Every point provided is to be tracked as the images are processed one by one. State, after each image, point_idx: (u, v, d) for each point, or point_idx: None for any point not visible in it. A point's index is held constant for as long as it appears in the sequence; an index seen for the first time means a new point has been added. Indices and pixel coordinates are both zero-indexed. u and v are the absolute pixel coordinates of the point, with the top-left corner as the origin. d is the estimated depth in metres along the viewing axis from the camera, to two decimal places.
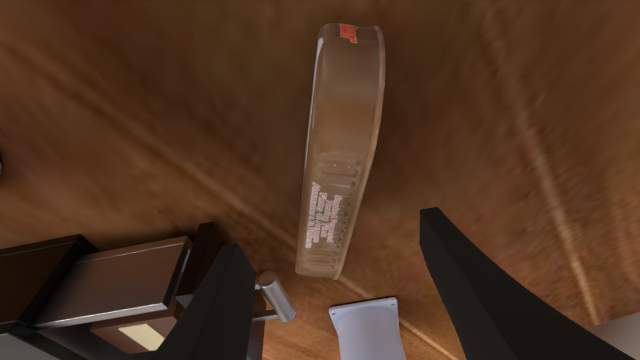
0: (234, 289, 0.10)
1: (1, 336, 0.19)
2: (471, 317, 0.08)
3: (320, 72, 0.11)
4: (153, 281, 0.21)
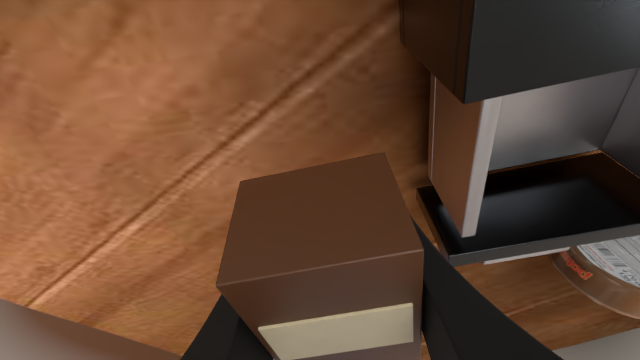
0: None
1: None
2: (432, 323, 0.08)
3: None
4: None
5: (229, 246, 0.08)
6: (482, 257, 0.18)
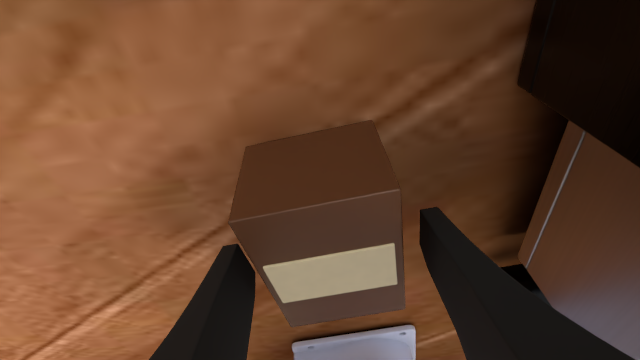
0: (234, 289, 0.10)
1: None
2: (471, 317, 0.08)
3: None
4: None
5: (238, 194, 0.09)
6: None
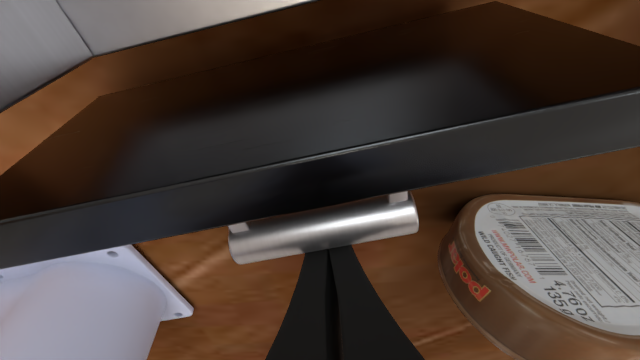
0: (331, 272, 0.10)
1: None
2: None
3: None
4: None
5: None
6: (49, 243, 0.06)
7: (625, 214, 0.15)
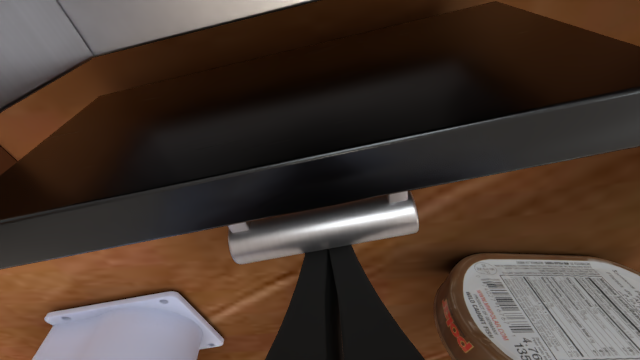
0: (331, 272, 0.10)
1: None
2: None
3: None
4: None
5: None
6: (49, 242, 0.06)
7: (588, 270, 0.19)
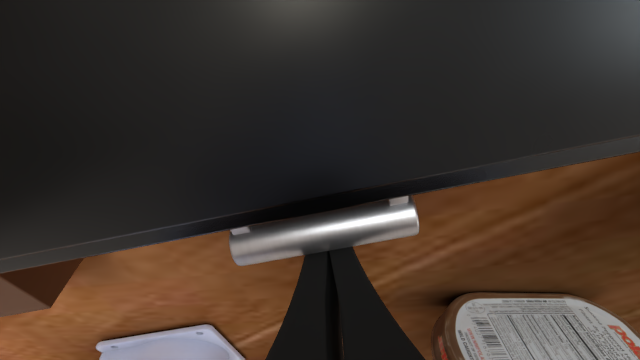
0: (331, 272, 0.10)
1: None
2: None
3: None
4: None
5: None
6: None
7: (564, 307, 0.22)
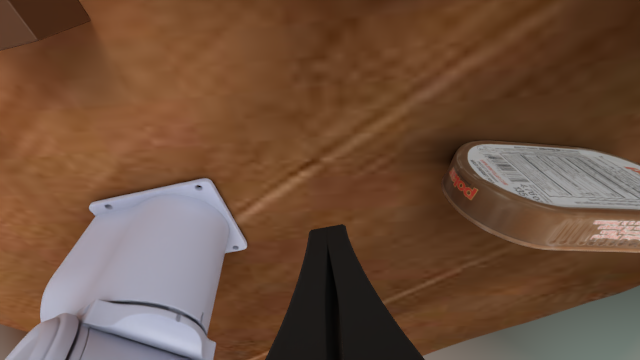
0: (331, 272, 0.10)
1: None
2: None
3: None
4: None
5: None
6: None
7: (578, 155, 0.21)
